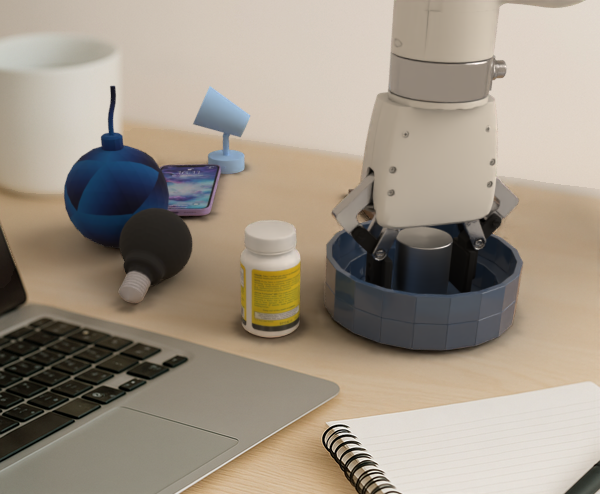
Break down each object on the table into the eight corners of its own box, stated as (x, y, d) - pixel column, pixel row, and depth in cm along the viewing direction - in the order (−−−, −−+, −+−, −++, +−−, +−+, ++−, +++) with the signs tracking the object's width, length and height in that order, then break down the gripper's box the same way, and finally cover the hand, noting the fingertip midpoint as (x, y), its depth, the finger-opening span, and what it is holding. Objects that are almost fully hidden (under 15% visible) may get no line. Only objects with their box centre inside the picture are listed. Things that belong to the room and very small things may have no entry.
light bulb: (89, 265, 67) (134, 185, 73) (93, 313, 72) (135, 234, 78) (165, 286, 67) (203, 204, 73) (164, 333, 71) (200, 252, 78)
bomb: (182, 222, 86) (174, 77, 80) (159, 266, 77) (148, 105, 70) (90, 219, 87) (74, 74, 80) (56, 262, 77) (35, 101, 70)
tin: (432, 287, 73) (438, 224, 70) (454, 311, 69) (462, 245, 66) (383, 293, 72) (387, 229, 69) (403, 317, 68) (409, 251, 65)
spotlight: (192, 173, 100) (249, 175, 100) (189, 91, 96) (248, 92, 96) (197, 160, 105) (251, 162, 105) (194, 81, 100) (251, 82, 100)
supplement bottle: (311, 325, 67) (314, 230, 63) (268, 345, 64) (268, 246, 61) (272, 305, 70) (272, 212, 66) (229, 323, 67) (226, 227, 64)
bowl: (461, 258, 80) (467, 210, 77) (550, 340, 66) (561, 283, 64) (302, 276, 75) (303, 225, 73) (361, 367, 62) (365, 308, 60)
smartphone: (139, 210, 87) (160, 164, 100) (140, 218, 87) (161, 172, 101) (209, 209, 87) (221, 164, 100) (210, 217, 87) (222, 171, 101)
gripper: (517, 63, 67) (490, 263, 75) (313, 73, 63) (308, 284, 71) (568, 84, 61) (533, 300, 69) (345, 96, 56) (335, 325, 65)
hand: (419, 290), depth 70 cm, fingers open, 6 cm apart
